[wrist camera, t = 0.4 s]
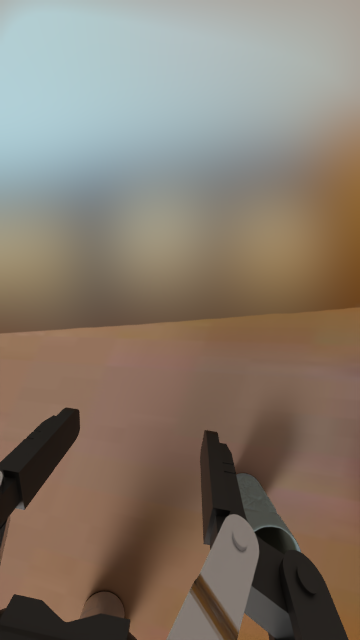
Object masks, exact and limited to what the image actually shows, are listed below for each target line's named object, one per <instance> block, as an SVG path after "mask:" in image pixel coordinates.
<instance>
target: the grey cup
mask: <svg viewBox="0 0 360 640" xmlns="http://www.w3.org/2000/svg"><path fill="white" fill-rule="evenodd" d="M236 476H237V481H238V485H239V490H240V494H241V499H242V503H243V508H244V512H245V516H246V518H247V521H248V523H249V524H250V526H251V527H252V529H253V531H254V532H255V533H256V535H257V536H258V537H259V538H260V539H262V540H263V541H264V542H266V543H267V544H269V545H270V546H272V547H273V548H275V549H277V550H278V551H280V552H281V553H283V554H284V555H285V553H286V552H287V551H288V550H297V551H299V552H301V550H300V548H299V545H298V543H297V541H296V539H295V538H294V536H293V535H292V533H291V532H290V530H289V529H288V527H287V526H286V524H285V523H284V522H283V520H282V519H281V517H280V516H279V515H278V514H277V512H276V509H275V507H274V505H273V504H272V502H271V501H270V499H269V497H267V495H266V493H265V491H264V490H263V488H262V486H261V485H260V483H259V482H258V481H257V480H256V479H255V478H254V477H253V476H251V475H249V474H246V473H240V474H236Z"/></svg>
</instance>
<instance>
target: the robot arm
mask: <svg viewBox="0 0 360 640" xmlns="http://www.w3.org/2000/svg"><path fill="white" fill-rule="evenodd" d="M79 431H80V416H79V410H78V409H72V408H64V409H63V410H62V411H61V412H60V413H59V414H58V415H57V416H54V415H53V416H52V417H50V418H49V419H47V420H45V421H44V422H42V423H41V424H40V425H39V426H38V427H37V428H36V429H35V430H34V432H32V433H31V434H30V435H29V436H28V437H27V438H26V439H24V440H23V441H22V442H21V443H20V444H19V445H18V446H17V447H16V448H15V449H14V450H13V451H12V452H11V453H10V454H9V455H8V456H7V457H5V458H4V459H3V460H2V461H1V462H0V564H1V560H2V555H3V550H4V546H5V541H6V537H7V532H8V528H9V523H10V514H11V513H12V512H13V511H14V509H15V508H17V509H22V510H25V509H26V507H27V506H28V504H29V503H30V502H31V500H32V499H33V498H34V496H35V495H36V493H37V492H38V491H39V489H40V488H41V487H42V485H43V484H44V483H45V481H46V480H47V478H48V477H49V476H50V474H51V473H52V472H53V470H54V469H55V467H56V466H57V465H58V463H59V462H60V461H61V459H62V458H63V457H64V455H65V454H66V452H67V451H68V450H69V448H70V447H71V446H72V444H73V443H74V441H75V440H76V438H77V436H78V434H79ZM200 465H201V489H202V513H203V538H204V544H207V545H210V552H209V555H208V557H207V559H206V561H205V563H204V565H203V568H202V570H201V572H200V574H199V576H198V578H197V579H196V580H195V581H194V583H193V585H192V587H191V589H190V591H189V593H188V595H187V597H186V599H185V601H184V603H183V605H182V608H181V610H180V612H179V614H178V616H177V618H176V620H175V622H174V625H173V627H172V629H171V631H170V633H169V635H168V637H167V639H166V640H237V638H238V634H239V630H240V626H241V622H242V618H243V614H244V613H245V614H246V615H248V616H249V617H250V618H251V619H252V620H254V621H255V622H256V623H257V624H259V625H260V626H261V627H262V628H263V629H265V630H266V631H267V632H268V634H269V640H348V637H347V635H346V632H345V630H344V627H343V625H342V622H341V620H340V617H339V615H338V612H337V610H336V607H335V605H334V603H333V600H332V598H331V595H330V593H329V590H328V588H327V585H326V583H325V581H324V579H323V577H322V575H321V574H320V572H319V571H318V569H317V568H316V567H315V565H314V564H313V563H312V562H311V561H310V560H309V559H308V558H307V557H306V556H305V555H304V554H302V553H301V552H299V551H297V550H288V551H287V552H286V553H285V555H284V554H283V553H281V552H280V551H278V550H277V549H275V548H273V547H272V546H270V545H269V544H267V543H266V542H264V541H263V540H262V539H260V538H259V537H258V536H257V535H256V533H255V532H254V531H253V529H252V527H251V526H250V524H249V523H248V521H247V518H246V516H245V512H244V508H243V503H242V499H241V494H240V490H239V485H238V481H237V476H236V472H235V467H234V463H233V458H232V454H231V452H230V450H229V448H228V447H227V445H226V444H222V443H219V437H218V433H217V432H214V431H208V430H205V432H204V437H203V442H202V447H201V455H200ZM124 616H125V613H124V607H123V604H122V603H121V601H120V599H119V598H118V597H117V596H116V595H114V594H112V593H110V592H99V593H96V594H94V595H93V596H91V597H90V598H89V599H88V600H87V602H86V603H85V605H84V608H83V610H82V613H81V616H80V619H78V620H75V621H71V622H64V621H63V620H62V619H61V618H60V617H59V616H58V615H56V614H55V613H54V612H53V611H52V610H51V609H50V608H49V607H48V606H47V605H46V604H45V603H44V602H43V601H42V600H38V599H34V598H29V597H25V596H20V595H16V594H14V595H13V597H12V599H11V601H10V602H9V604H8V606H7V608H4V609H2V610H0V640H137V639H136V638H135V637H134V636H133V635H132V634H131V633H130V632H129V628H130V619H125V618H124Z"/></svg>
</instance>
